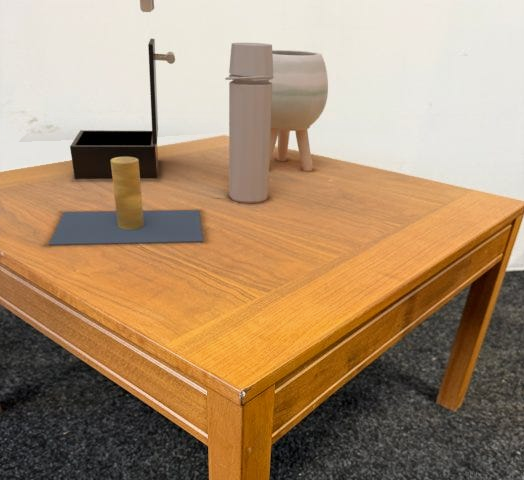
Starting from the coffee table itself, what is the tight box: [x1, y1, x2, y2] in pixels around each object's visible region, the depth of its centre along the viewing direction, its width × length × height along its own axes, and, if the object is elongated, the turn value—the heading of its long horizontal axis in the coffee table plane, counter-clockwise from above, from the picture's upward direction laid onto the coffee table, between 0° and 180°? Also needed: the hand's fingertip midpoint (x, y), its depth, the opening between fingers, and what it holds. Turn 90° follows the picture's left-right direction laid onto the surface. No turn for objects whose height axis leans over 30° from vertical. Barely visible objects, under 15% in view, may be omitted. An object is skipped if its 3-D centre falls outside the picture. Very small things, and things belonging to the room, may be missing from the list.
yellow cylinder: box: [111, 157, 144, 230], centre depth 83 cm, size 4×4×10 cm
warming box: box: [69, 129, 159, 180], centre depth 111 cm, size 16×15×7 cm
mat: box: [48, 209, 204, 247], centre depth 86 cm, size 22×14×1 cm, turn 98°
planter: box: [269, 49, 329, 172], centre depth 114 cm, size 16×16×22 cm
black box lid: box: [147, 38, 176, 145], centre depth 106 cm, size 17×15×5 cm
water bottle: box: [224, 42, 274, 204], centre depth 95 cm, size 9×8×25 cm
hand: (148, 11), depth 91 cm, fingers open, 8 cm apart
